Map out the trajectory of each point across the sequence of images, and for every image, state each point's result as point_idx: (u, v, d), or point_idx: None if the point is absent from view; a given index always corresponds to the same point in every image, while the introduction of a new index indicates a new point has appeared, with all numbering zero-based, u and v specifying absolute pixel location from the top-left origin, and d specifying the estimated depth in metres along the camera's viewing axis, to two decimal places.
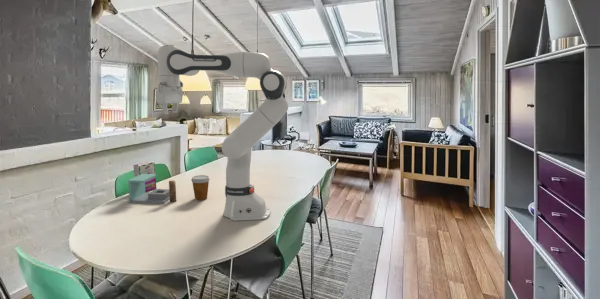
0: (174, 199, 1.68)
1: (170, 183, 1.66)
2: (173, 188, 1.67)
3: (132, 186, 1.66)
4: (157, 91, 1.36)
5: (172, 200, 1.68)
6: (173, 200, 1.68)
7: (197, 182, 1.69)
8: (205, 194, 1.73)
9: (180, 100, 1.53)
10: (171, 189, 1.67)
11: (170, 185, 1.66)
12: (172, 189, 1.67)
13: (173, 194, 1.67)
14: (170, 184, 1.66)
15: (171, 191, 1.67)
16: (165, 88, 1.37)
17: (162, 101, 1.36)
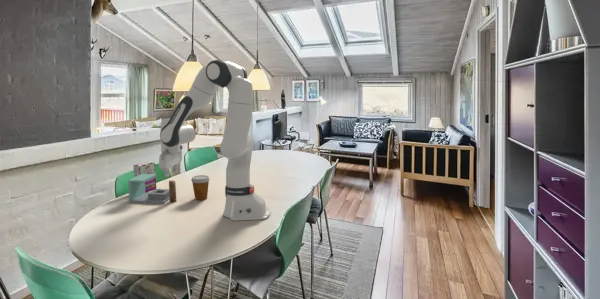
0: (174, 199, 1.68)
1: (170, 183, 1.66)
2: (173, 188, 1.67)
3: (132, 186, 1.66)
4: (160, 159, 1.56)
5: (172, 200, 1.68)
6: (173, 200, 1.68)
7: (197, 182, 1.69)
8: (205, 194, 1.73)
9: (180, 160, 1.73)
10: (171, 189, 1.67)
11: (170, 185, 1.66)
12: (172, 189, 1.67)
13: (173, 194, 1.67)
14: (170, 184, 1.66)
15: (171, 191, 1.67)
16: (167, 156, 1.57)
17: (164, 168, 1.56)
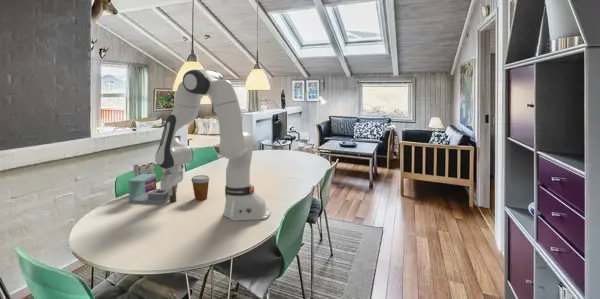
0: (174, 199, 1.68)
1: None
2: (173, 188, 1.67)
3: (132, 186, 1.66)
4: (161, 180, 1.58)
5: (172, 200, 1.68)
6: (173, 200, 1.68)
7: (197, 182, 1.69)
8: (205, 194, 1.73)
9: (181, 179, 1.75)
10: None
11: None
12: (172, 189, 1.67)
13: (173, 194, 1.67)
14: None
15: None
16: (168, 177, 1.59)
17: (165, 189, 1.58)
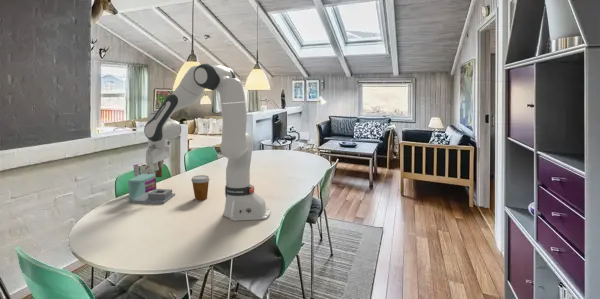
0: (160, 174, 1.69)
1: None
2: (159, 163, 1.68)
3: (132, 186, 1.66)
4: (146, 154, 1.59)
5: (158, 175, 1.69)
6: (159, 175, 1.69)
7: (197, 182, 1.69)
8: (205, 194, 1.73)
9: (167, 155, 1.76)
10: None
11: None
12: (158, 164, 1.68)
13: (159, 169, 1.68)
14: None
15: None
16: (153, 151, 1.60)
17: (151, 162, 1.59)
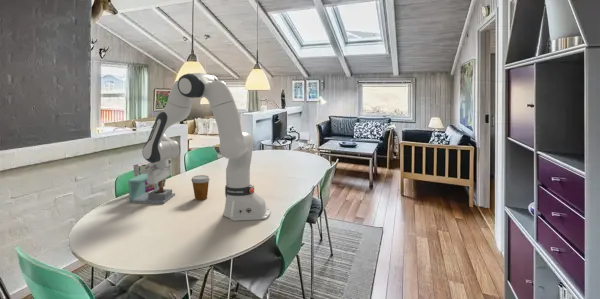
0: None
1: None
2: (160, 184, 1.70)
3: (132, 186, 1.66)
4: (148, 174, 1.60)
5: None
6: None
7: (197, 182, 1.69)
8: (205, 194, 1.73)
9: (169, 174, 1.78)
10: (158, 185, 1.69)
11: None
12: (159, 185, 1.70)
13: (160, 190, 1.70)
14: None
15: None
16: (155, 171, 1.61)
17: (152, 183, 1.61)
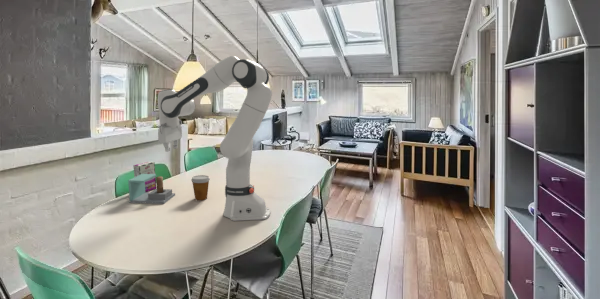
0: None
1: (157, 179, 1.69)
2: (160, 184, 1.70)
3: (132, 186, 1.66)
4: (159, 132, 1.51)
5: None
6: None
7: (197, 182, 1.69)
8: (205, 194, 1.73)
9: (180, 136, 1.69)
10: (158, 185, 1.69)
11: (157, 181, 1.69)
12: (159, 185, 1.70)
13: (160, 190, 1.70)
14: (157, 180, 1.69)
15: (158, 187, 1.70)
16: (166, 129, 1.52)
17: (163, 141, 1.51)
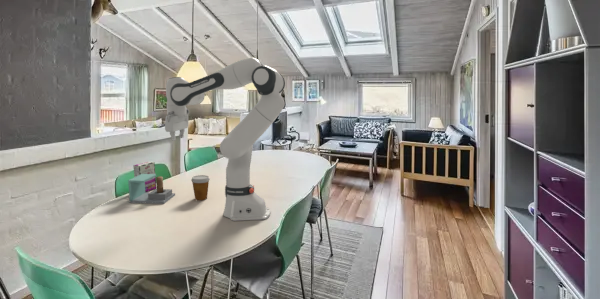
0: None
1: (157, 179, 1.69)
2: (160, 184, 1.70)
3: (132, 186, 1.66)
4: (166, 120, 1.48)
5: None
6: None
7: (197, 182, 1.69)
8: (205, 194, 1.73)
9: (186, 125, 1.65)
10: (158, 185, 1.69)
11: (157, 181, 1.69)
12: (159, 185, 1.70)
13: (160, 190, 1.70)
14: (157, 180, 1.69)
15: (158, 187, 1.70)
16: (173, 117, 1.49)
17: (170, 129, 1.48)
